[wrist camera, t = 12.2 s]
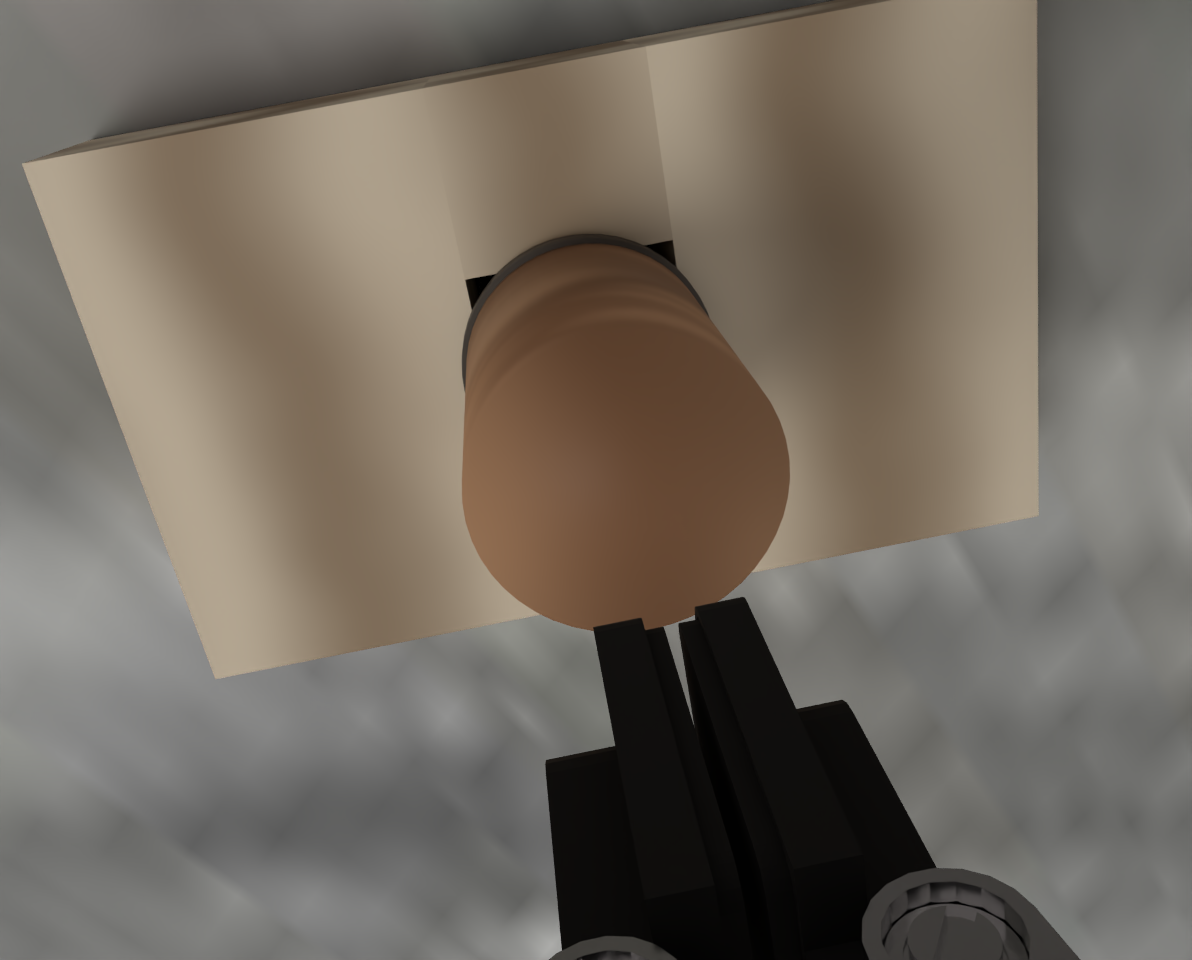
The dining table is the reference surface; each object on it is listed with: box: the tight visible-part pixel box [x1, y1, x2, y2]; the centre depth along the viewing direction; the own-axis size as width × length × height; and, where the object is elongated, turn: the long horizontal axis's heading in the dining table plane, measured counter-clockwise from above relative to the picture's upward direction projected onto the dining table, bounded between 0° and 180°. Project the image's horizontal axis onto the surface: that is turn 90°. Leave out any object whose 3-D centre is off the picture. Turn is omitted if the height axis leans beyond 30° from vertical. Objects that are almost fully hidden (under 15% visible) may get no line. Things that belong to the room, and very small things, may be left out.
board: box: [22, 0, 1038, 679], centre depth 25 cm, size 20×12×4 cm, turn 100°
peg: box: [462, 234, 790, 631], centre depth 22 cm, size 5×5×11 cm
